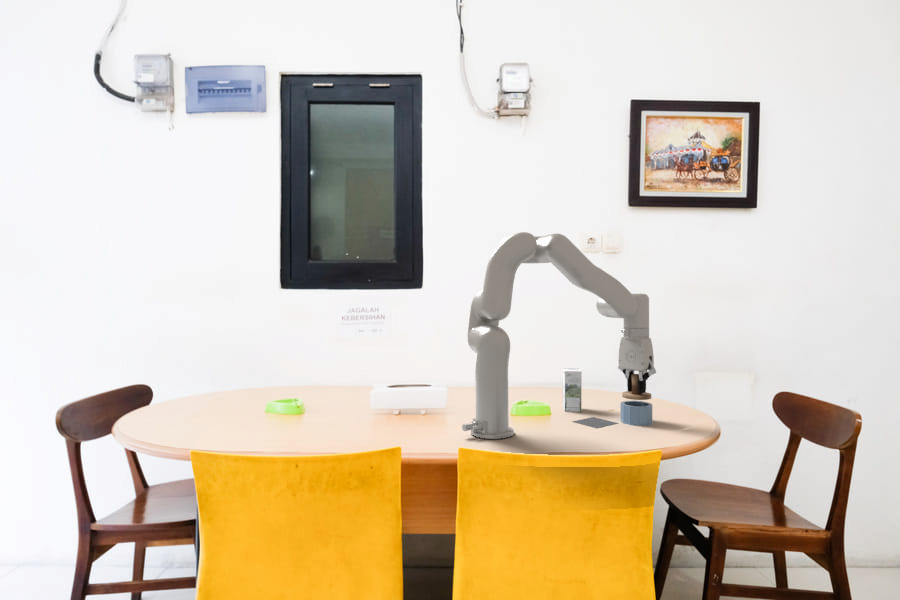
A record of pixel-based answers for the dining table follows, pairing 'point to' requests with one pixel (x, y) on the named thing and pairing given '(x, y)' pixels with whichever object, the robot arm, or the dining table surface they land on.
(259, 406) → the dining table surface
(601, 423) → the mat
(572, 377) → the syrup box
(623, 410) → the blue round pot
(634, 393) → the lid
